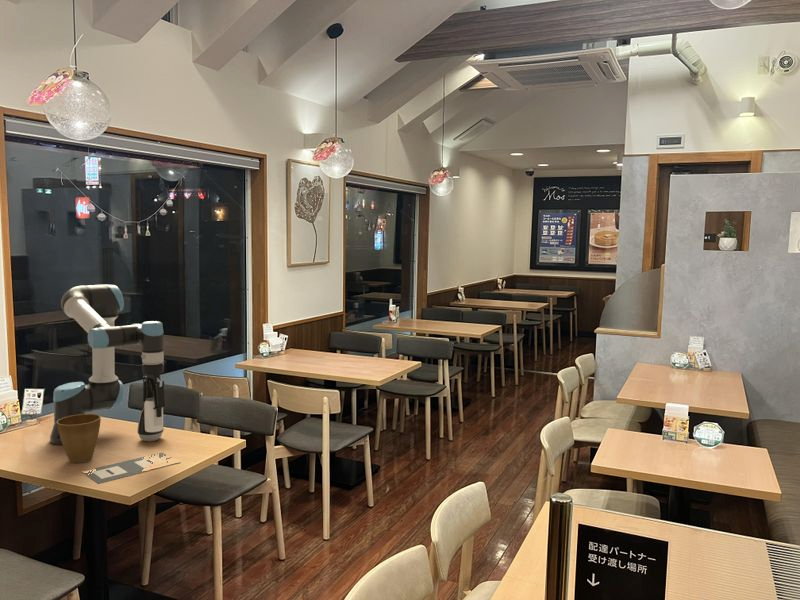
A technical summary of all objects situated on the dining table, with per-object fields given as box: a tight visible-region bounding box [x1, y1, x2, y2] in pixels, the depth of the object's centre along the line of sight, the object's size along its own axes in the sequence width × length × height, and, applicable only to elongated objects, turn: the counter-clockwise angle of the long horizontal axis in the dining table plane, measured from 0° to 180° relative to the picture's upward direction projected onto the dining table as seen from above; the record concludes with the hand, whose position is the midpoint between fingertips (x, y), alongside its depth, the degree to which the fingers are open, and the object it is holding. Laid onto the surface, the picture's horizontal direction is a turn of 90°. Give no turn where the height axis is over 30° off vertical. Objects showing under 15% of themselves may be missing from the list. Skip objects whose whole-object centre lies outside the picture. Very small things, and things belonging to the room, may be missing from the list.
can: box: [143, 397, 164, 432], centre depth 234 cm, size 6×6×12 cm
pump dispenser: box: [137, 408, 165, 443], centre depth 261 cm, size 10×10×15 cm
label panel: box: [83, 452, 172, 485], centre depth 230 cm, size 16×30×1 cm, turn 136°
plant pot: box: [57, 413, 102, 464], centre depth 236 cm, size 15×15×16 cm
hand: (154, 423), depth 234 cm, fingers closed on can, 6 cm apart
